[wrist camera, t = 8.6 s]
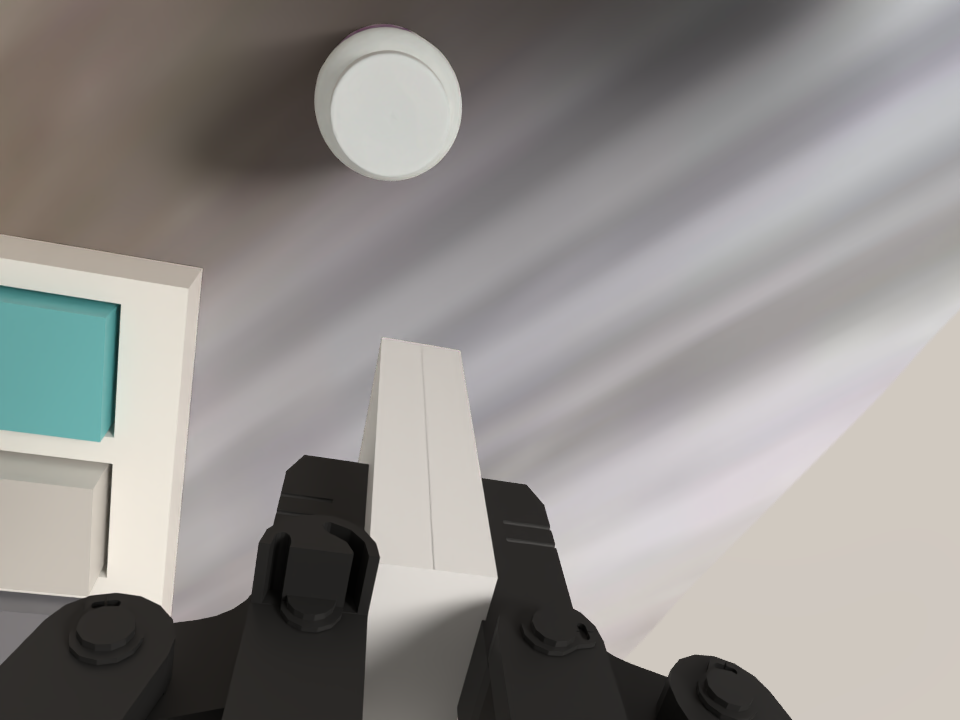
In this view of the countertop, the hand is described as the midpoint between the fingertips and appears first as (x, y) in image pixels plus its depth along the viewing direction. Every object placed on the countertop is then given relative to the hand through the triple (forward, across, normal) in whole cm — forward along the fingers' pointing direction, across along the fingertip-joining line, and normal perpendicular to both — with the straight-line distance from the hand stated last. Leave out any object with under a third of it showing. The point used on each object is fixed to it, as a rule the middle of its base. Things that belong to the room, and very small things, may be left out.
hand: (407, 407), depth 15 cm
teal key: (+22, -14, -11) cm, 28 cm away
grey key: (+21, -14, -19) cm, 31 cm away
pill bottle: (+24, -1, +3) cm, 24 cm away
